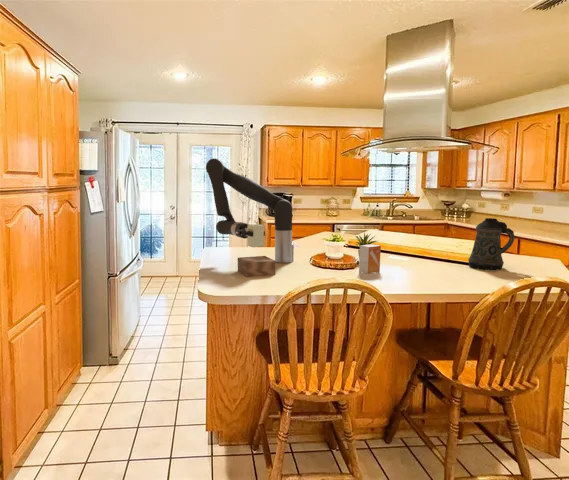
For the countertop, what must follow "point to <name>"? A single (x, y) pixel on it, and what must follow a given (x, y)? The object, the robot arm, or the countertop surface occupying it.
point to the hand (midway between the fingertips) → (258, 233)
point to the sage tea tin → (256, 235)
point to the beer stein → (489, 245)
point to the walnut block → (256, 266)
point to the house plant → (364, 242)
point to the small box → (369, 258)
